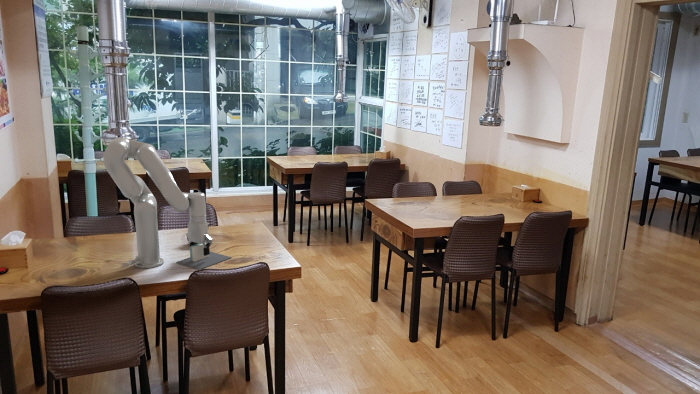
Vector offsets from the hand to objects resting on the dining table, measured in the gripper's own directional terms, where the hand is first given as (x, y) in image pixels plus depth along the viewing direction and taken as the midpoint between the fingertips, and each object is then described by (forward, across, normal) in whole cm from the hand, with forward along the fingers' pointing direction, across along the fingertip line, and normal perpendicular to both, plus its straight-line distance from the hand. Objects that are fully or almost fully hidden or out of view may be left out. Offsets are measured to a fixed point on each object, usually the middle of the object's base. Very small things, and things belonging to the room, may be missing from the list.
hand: (199, 252), depth 250 cm
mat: (+3, +3, 0) cm, 4 cm away
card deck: (+3, 0, 0) cm, 3 cm away
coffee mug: (+3, -20, +20) cm, 28 cm away
